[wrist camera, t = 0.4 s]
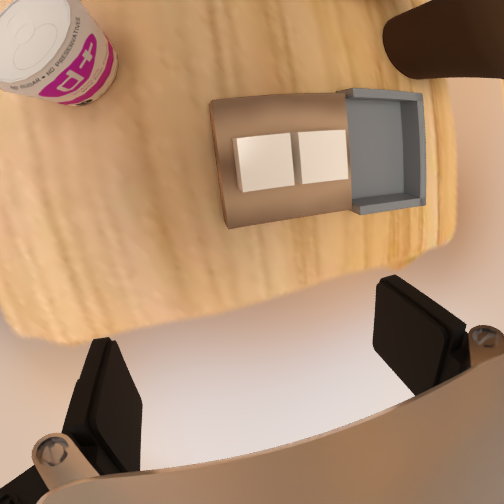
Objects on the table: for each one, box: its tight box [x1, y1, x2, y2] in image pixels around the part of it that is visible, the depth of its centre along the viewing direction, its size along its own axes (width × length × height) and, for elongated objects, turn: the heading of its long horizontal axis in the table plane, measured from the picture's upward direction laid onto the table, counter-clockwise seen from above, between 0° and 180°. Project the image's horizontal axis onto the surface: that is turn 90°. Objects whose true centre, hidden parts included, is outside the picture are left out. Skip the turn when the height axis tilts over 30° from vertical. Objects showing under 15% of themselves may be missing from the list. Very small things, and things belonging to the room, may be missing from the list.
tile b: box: [290, 130, 348, 184], centre depth 31 cm, size 5×5×2 cm
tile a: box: [232, 133, 295, 192], centre depth 30 cm, size 5×5×2 cm
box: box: [336, 88, 426, 215], centre depth 35 cm, size 14×10×4 cm
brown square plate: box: [209, 93, 352, 229], centre depth 33 cm, size 13×14×3 cm
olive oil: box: [383, 0, 504, 79], centre depth 21 cm, size 11×11×25 cm
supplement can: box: [0, 0, 118, 107], centre depth 20 cm, size 8×8×15 cm
